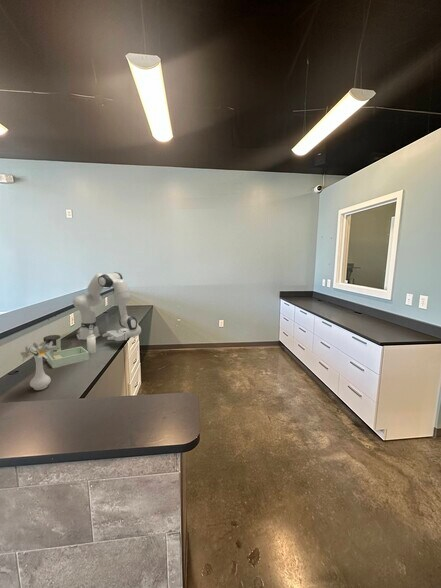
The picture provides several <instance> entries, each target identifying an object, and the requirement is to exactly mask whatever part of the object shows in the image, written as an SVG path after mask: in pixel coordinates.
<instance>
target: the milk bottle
mask: <svg viewBox="0 0 441 588" xmlns="http://www.w3.org/2000/svg"><path fill="white" fill-rule="evenodd" d="M96 339H97V338H96V336H94V334H93V328H89V335H88V336H87V340H86V349H87V350H86V351H88V352H89V354H93V353H96V352H97V343H96Z"/></svg>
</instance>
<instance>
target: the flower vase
mask: <svg viewBox="0 0 441 588" xmlns="http://www.w3.org/2000/svg"><path fill="white" fill-rule="evenodd" d="M52 344H53V342H52V341H51V342H50V343H49V345H44V341H42V342H40V343H39V344H38V343H36V342H33V343H32V345H30V347H29V345H27V344H26V345H25V346H24V347H25V349H24V350H23V351H21V352H20V355H21V356H20V357H22V360H21V362H24V360H26V359H27V358H29V357H30V356H33V357H34V360H35V361H34V362H35V375H33V377H32V378H31V379H30V382H29V385H30V387H31V388H33V389H34V391H41V390H44V389H46V388H48V386H49V384H50V383H51V381H52V380H51V377H50V375H48V374H46V372H45V371H44V364H43V363H44V362H43V358H44V359H46V360H47V358H48V356H47V355H46V354H47V353H51V354H52V355H53V354H54V352H53V349H56V348H57V346H52Z"/></svg>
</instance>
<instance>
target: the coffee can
mask: <svg viewBox="0 0 441 588" xmlns="http://www.w3.org/2000/svg"><path fill="white" fill-rule="evenodd" d="M51 341H52V342H53V344H52V346H57V348H56V349H53V352H57V351H61V350H62V347H61V345H62V343H61V335H58V334H52V335H51V334H50V335H46V336H44V337H43V342H44V345H49V343H50V342H51ZM46 355H47V354H46Z"/></svg>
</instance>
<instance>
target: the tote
mask: <svg viewBox="0 0 441 588" xmlns="http://www.w3.org/2000/svg"><path fill="white" fill-rule="evenodd" d="M89 354H90V353H89V352H88V351H87V350H86V349H85V348H84V347H83V346H78V347H72V348H68V349H67V348H66V349H61V351H57V352H54V354H53V355H52V354H51V353H47V356H48V358H47V359H46V362H47V363H48V364H49V366H50V367H51V368H52V369H57V368H60V367H64V366H69V365H72V364H75V363H80V362H85V361H89V360H90V355H89ZM57 355H61V357H62V358H59V359H54V360H53V356H57Z"/></svg>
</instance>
